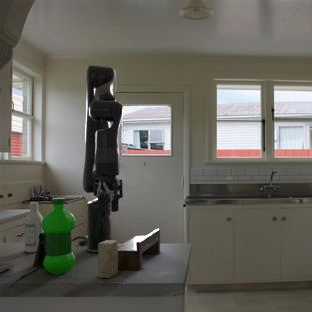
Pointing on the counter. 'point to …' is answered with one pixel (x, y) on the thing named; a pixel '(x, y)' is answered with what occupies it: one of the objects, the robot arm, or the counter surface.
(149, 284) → the counter surface
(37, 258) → the phone stand
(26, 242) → the bath foam
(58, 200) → the plastic bottle
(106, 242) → the box
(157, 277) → the counter surface
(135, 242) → the shelf
